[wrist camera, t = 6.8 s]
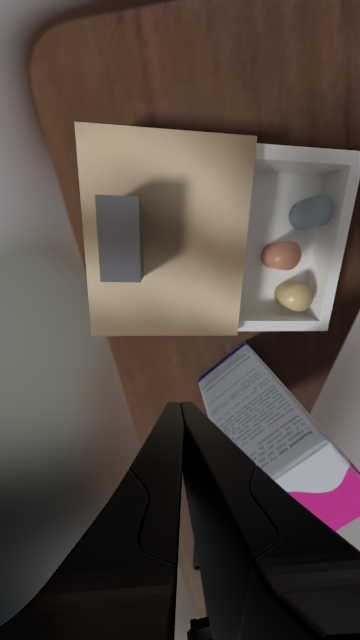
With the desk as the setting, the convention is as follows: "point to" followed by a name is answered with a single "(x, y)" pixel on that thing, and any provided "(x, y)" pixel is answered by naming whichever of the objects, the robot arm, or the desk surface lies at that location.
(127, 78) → the desk surface
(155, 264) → the lid
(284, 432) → the supplement box
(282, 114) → the desk surface
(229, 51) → the desk surface
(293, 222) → the white storage tray
